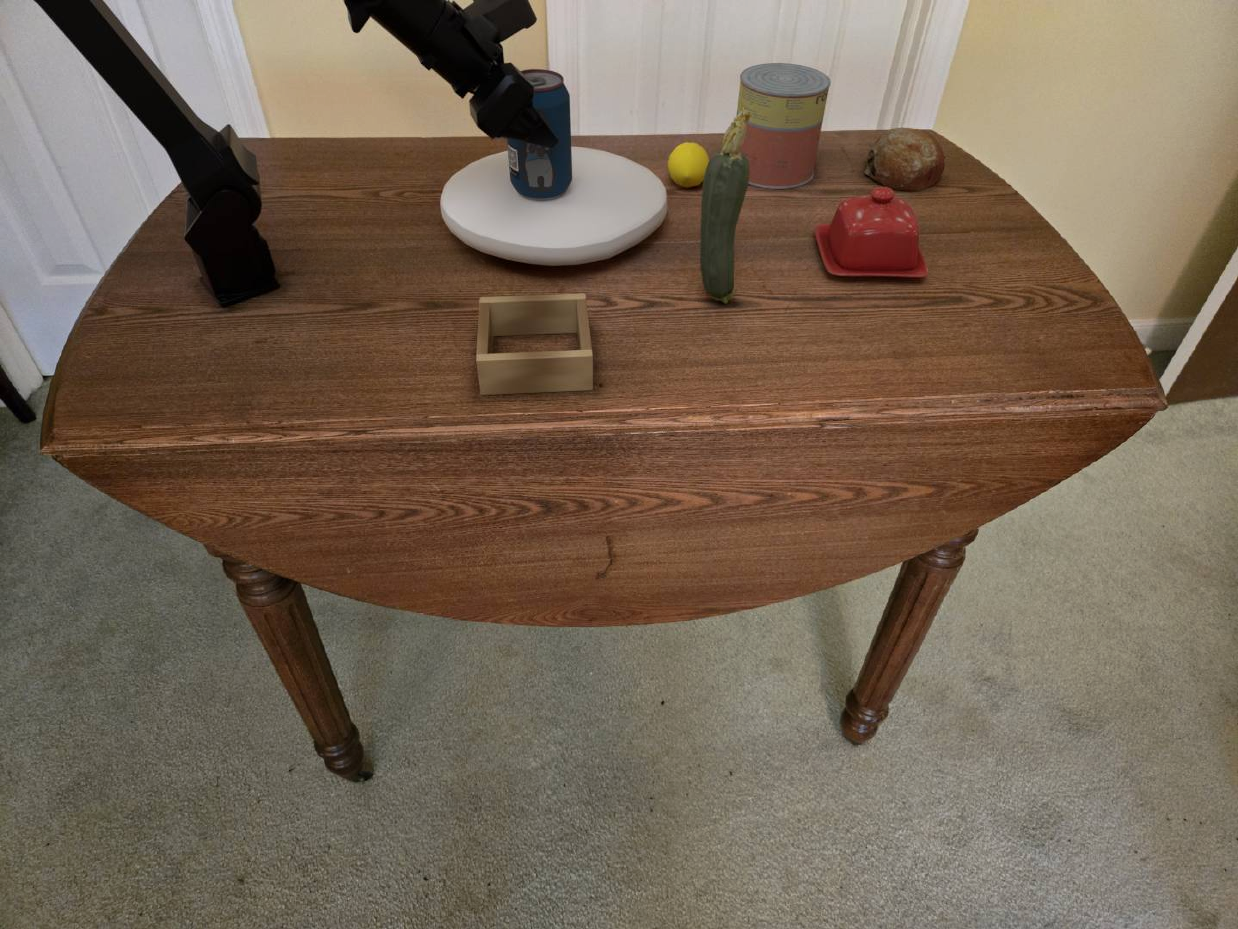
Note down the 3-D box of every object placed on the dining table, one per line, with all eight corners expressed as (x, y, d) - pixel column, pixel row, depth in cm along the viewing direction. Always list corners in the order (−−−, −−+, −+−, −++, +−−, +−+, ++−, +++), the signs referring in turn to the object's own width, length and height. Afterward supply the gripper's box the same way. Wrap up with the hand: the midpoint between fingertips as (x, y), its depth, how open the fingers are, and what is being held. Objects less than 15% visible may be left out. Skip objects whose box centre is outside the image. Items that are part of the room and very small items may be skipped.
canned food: (826, 184, 108) (845, 90, 100) (746, 192, 106) (758, 97, 98) (794, 150, 116) (809, 60, 108) (718, 156, 114) (728, 65, 106)
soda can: (552, 171, 96) (547, 62, 88) (584, 193, 92) (582, 82, 83) (500, 185, 93) (489, 74, 85) (530, 209, 89) (522, 95, 81)
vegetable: (700, 313, 86) (719, 120, 72) (686, 292, 89) (702, 102, 75) (739, 307, 86) (765, 115, 73) (725, 286, 89) (747, 98, 76)
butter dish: (824, 284, 90) (840, 212, 84) (810, 233, 98) (823, 164, 93) (929, 287, 90) (952, 215, 84) (905, 236, 98) (925, 167, 92)
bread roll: (856, 187, 116) (845, 139, 110) (922, 149, 115) (914, 98, 109) (893, 219, 109) (884, 169, 103) (963, 179, 108) (957, 126, 102)
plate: (484, 128, 108) (684, 149, 104) (487, 178, 112) (679, 199, 108) (398, 201, 86) (647, 231, 82) (405, 260, 90) (643, 290, 86)
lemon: (707, 197, 105) (711, 156, 101) (665, 195, 105) (667, 154, 101) (707, 174, 110) (711, 133, 106) (667, 171, 110) (670, 131, 106)
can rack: (480, 395, 75) (475, 360, 72) (483, 331, 83) (479, 296, 80) (593, 390, 76) (592, 355, 73) (586, 326, 83) (585, 293, 81)
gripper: (503, -24, 69) (623, 98, 79) (459, -71, 81) (567, 39, 92) (423, 83, 72) (548, 186, 82) (392, 22, 85) (504, 118, 95)
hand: (543, 127), depth 88 cm, fingers open, 9 cm apart
